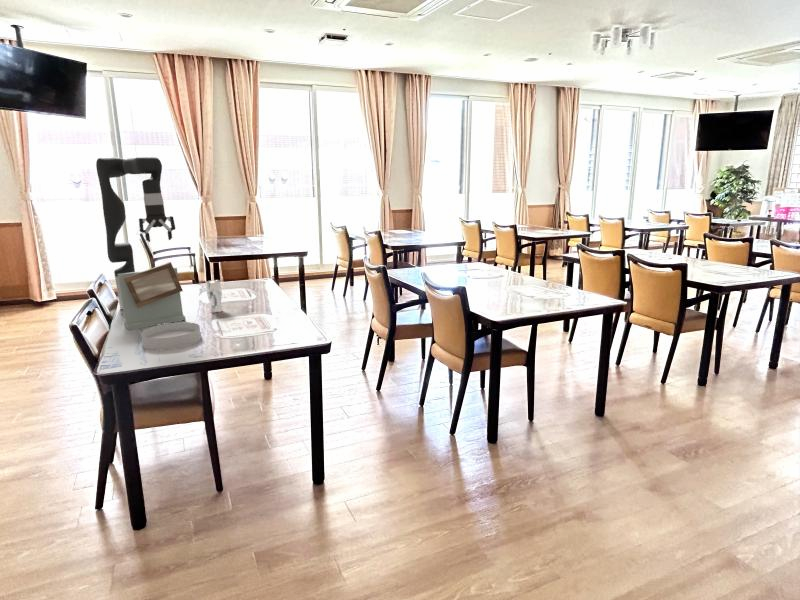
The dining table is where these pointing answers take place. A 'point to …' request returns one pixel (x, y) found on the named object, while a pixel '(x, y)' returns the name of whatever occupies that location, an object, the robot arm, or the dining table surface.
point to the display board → (149, 307)
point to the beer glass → (214, 295)
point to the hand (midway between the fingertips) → (159, 240)
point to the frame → (153, 284)
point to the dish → (171, 335)
